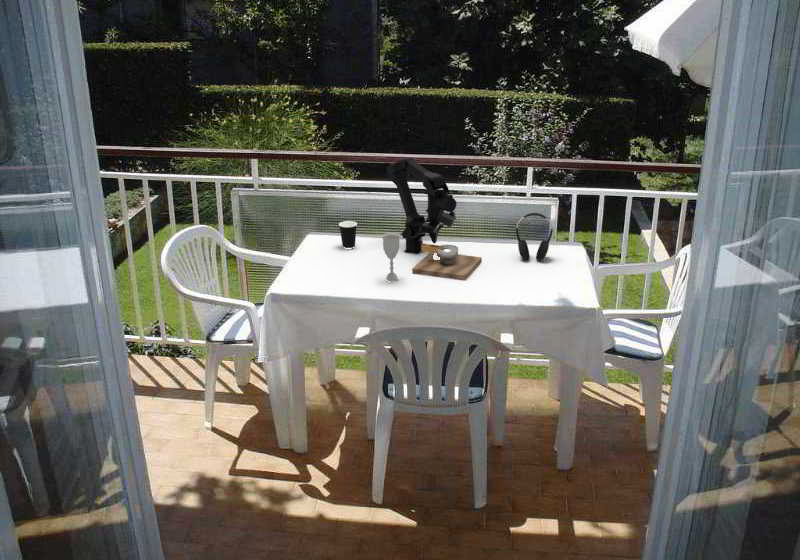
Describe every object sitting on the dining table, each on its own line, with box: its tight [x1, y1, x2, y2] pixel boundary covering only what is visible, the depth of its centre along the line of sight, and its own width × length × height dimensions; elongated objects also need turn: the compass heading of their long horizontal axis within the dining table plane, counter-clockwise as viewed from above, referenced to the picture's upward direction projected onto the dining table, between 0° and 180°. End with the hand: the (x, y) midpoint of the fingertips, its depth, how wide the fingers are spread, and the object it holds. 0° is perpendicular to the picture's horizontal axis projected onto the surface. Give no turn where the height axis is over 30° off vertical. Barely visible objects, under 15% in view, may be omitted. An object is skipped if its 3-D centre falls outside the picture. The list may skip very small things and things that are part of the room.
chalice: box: [381, 232, 401, 282], centre depth 297 cm, size 7×7×18 cm
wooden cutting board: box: [411, 252, 483, 281], centre depth 311 cm, size 22×22×5 cm
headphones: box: [515, 212, 554, 261], centre depth 316 cm, size 9×15×20 cm, turn 80°
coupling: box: [421, 243, 459, 259], centre depth 311 cm, size 15×8×3 cm, turn 66°
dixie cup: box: [338, 220, 358, 248], centre depth 334 cm, size 8×8×11 cm
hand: (434, 242), depth 318 cm, fingers closed
